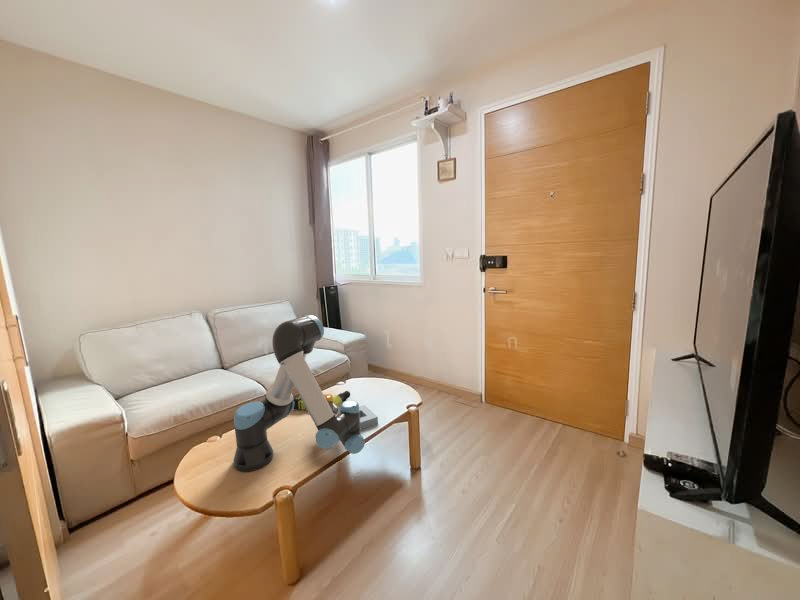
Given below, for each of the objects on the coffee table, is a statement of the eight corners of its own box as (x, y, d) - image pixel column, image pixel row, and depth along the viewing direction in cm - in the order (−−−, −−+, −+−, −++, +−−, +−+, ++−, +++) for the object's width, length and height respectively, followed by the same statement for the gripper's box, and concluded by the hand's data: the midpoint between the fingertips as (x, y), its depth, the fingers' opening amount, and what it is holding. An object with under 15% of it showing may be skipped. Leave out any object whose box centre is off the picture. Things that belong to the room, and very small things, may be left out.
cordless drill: (321, 391, 202) (354, 399, 190) (291, 410, 180) (327, 420, 169) (320, 380, 200) (354, 387, 189) (290, 398, 179) (326, 408, 167)
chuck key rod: (326, 435, 154) (323, 399, 151) (322, 430, 158) (320, 395, 155) (336, 432, 156) (334, 397, 153) (332, 427, 161) (330, 393, 158)
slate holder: (350, 432, 156) (349, 425, 155) (338, 419, 168) (338, 412, 168) (377, 423, 164) (377, 416, 163) (364, 411, 176) (364, 405, 176)
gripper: (320, 443, 136) (305, 420, 155) (363, 429, 146) (343, 408, 165) (319, 427, 135) (303, 405, 154) (362, 413, 145) (343, 394, 164)
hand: (324, 407), depth 160 cm, fingers open, 7 cm apart
